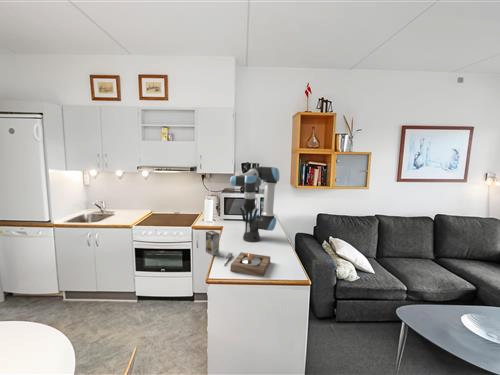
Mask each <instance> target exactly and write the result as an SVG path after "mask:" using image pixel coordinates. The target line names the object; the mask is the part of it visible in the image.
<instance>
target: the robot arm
mask: <svg viewBox="0 0 500 375" xmlns="http://www.w3.org/2000/svg"><path fill="white" fill-rule="evenodd" d="M279 181H280V170H279V168H277V167H275V166H274V167H273V166H257V167H253V168H250V169H249V170H248V171H247V172H244V173H241V174H239V175H232V176H231V177H230V185H231V186H233V187H240V188H241V187H242V188H244V193H243V194H244V196H243V198H244V199H243V205H242V206H241V207H240V208H239V209H240V211H241V216H242V220H243V222H244V224H245V225H244V226H245V228H244V229H245V230H244V232H243V236H242V239H243V241H244V242H249V243H257V242H259V241H261V235H260V230H264V231H271V232H272V231H274V229H275V228H276V224H277V217H275V214H274V205H275V204H274V201H275V192H276V191H275V190H276V189H275V188H276V185H277V184H278V182H279ZM262 183H263V184H264V194H263V208H262V212H261V213H260V214H259V213H258V211H259V208H257V207H256V189H257V188H259V187H260V186H261V185H262ZM253 211H254V212H253Z"/></svg>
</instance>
